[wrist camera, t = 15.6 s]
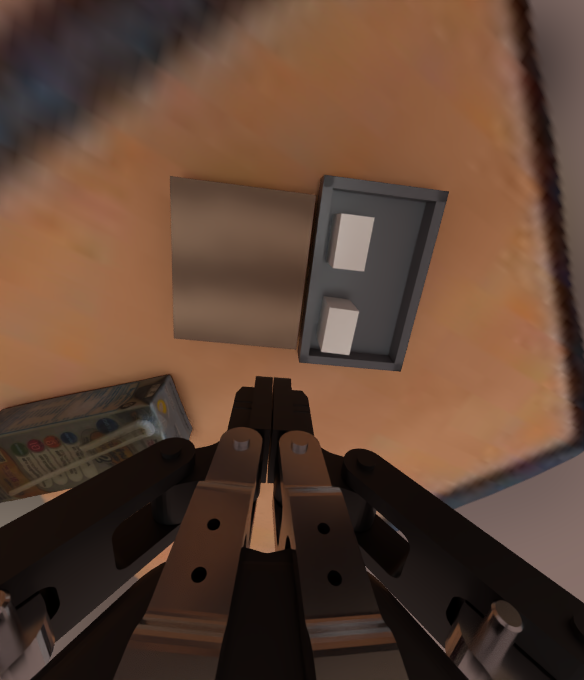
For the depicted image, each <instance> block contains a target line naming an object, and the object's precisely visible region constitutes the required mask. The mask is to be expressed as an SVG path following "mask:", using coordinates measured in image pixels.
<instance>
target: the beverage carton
mask: <svg viewBox="0 0 584 680" xmlns="http://www.w3.org/2000/svg"><path fill="white" fill-rule="evenodd" d="M191 431H192V426H191V424H190V422H189V420H188V418H187V415H186V413H185V411H184V408H183V406H182V403H181V401H180V398H179V395H178V393H177V390H176V388H175V385H174V382H173V380H172V378H171V376H170V375H165V376H160V377H155V378H151V379H146V380H141V381H136V382H132V383H126V384H121V385H116V386H112V387H107V388H102V389H97V390H92V391H87V392H82V393H77V394H72V395H67V396H63V397H58V398H53V399H48V400H43V401H39V402H34V403H30V404H25V405H21V406H16V407H12V408H7V409H2V410H1V411H0V503H1V502H6V501H13V500H18V499H23V498H27V497H32V496H37V495H42V494H47V493H52V492H57V491H61V490H66V489H71V488H74V487H76V486H78V485H80V484H81V483H83V482H85V481H87V480H89V479H91V478H93V477H94V476H96V475H98V474H100V473H102V472H104V471H105V470H107V469H109V468H111V467H113V466H115V465H116V464H118V463H120V462H122V461H124V460H126V459H127V458H129V457H131V456H133V455H135V454H137V453H138V452H140V451H142V450H144V449H146V448H148V447H149V446H151V445H153V444H155V443H157V442H159V441H161V440H163V439H167V438H172V437H179V438H185V439H187V440H189V438H190V434H191Z"/></svg>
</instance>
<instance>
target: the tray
mask: <svg viewBox="0 0 584 680" xmlns="http://www.w3.org/2000/svg"><path fill="white" fill-rule="evenodd" d="M448 194H449V192H448V191H441V190H433V189H426V188H418V187H411V186H403V185H396V184H388V183H381V182H374V181H366V180H359V179H351V178H344V177H336V176H329V175H324V176H323V177H322V178H321V180H320V187H319V195H318V203H317V210H316V218H315V225H314V233H313V240H312V248H311V256H310V263H309V271H308V278H307V286H306V293H305V301H304V309H303V316H302V324H301V331H300V339H299V346H298V358H299V362H300V363H311V364H322V365H333V366H344V367H356V368H367V369H378V370H389V371H400V372H401V368H402V365H403V361H404V357H405V354H406V350H407V346H408V342H409V339H410V335H411V331H412V327H413V324H414V320H415V316H416V313H417V309H418V305H419V301H420V298H421V294H422V290H423V287H424V283H425V279H426V275H427V272H428V268H429V264H430V261H431V257H432V253H433V249H434V246H435V242H436V238H437V235H438V231H439V227H440V223H441V220H442V216H443V212H444V209H445V205H446V201H447V197H448ZM341 213H342V214H350V215H358V216H366V217H374V223H373V228H372V234H371V239H370V244H369V249H368V254H367V259H366V264H365V269H364V272H363V271H354V270H346V269H337V268H332V267H331V266H330V265H329V264H328V263H327V262H326V259H327V252H328V245H329V239H330V232H331V225H332V219H333V214H341ZM323 296H326V297H333V298H341V299H348V300H350V301H351V302H352V303H353V305H354V306H355V307H356V308H357V309H358V311H359V314H358V319H357V323H356V328H355V332H354V336H353V341H352V345H351V350H350V354H349V355H344V354H335V353H327V352H321V350H320V346H319V343H318V340H317V336H316V335H317V329H318V323H319V318H320V312H321V307H322V301H323Z"/></svg>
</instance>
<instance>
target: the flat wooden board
mask: <svg viewBox="0 0 584 680" xmlns="http://www.w3.org/2000/svg"><path fill="white" fill-rule="evenodd" d="M170 198H171V239H172V281H173V322H174V338H176V339H186V340H197V341H208V342H219V343H230V344H240V345H251V346H262V347H273V348H284V349H295V350H296V346H297V338H298V330H299V323H300V315H301V307H302V299H303V292H304V284H305V276H306V269H307V261H308V253H309V245H310V238H311V230H312V222H313V215H314V207H315V199H316V195H312V194H305V193H297V192H289V191H281V190H274V189H266V188H258V187H250V186H243V185H235V184H227V183H219V182H212V181H204V180H196V179H189V178H181V177H173V176H170Z"/></svg>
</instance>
